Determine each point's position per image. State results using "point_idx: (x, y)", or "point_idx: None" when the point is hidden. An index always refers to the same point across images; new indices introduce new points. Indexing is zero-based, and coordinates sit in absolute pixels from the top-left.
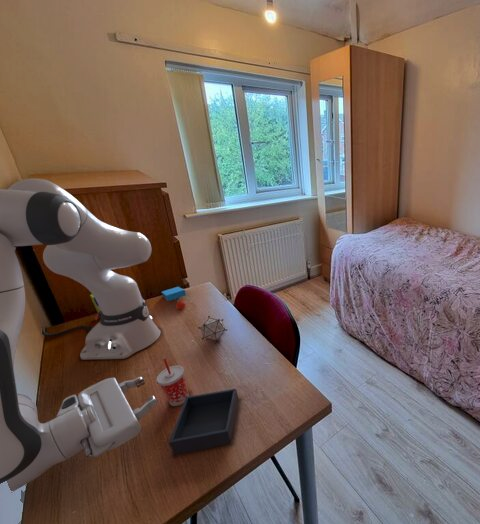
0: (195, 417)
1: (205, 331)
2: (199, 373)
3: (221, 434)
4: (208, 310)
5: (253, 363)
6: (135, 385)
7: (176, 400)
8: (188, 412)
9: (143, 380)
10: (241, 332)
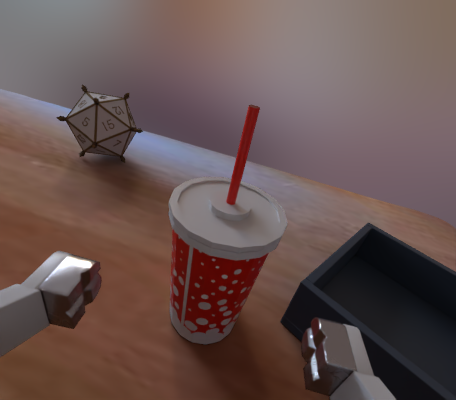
0: None
1: (100, 123)
2: (169, 228)
3: None
4: (5, 109)
5: (265, 188)
6: (43, 320)
7: (237, 315)
8: None
9: (99, 268)
10: (158, 144)
